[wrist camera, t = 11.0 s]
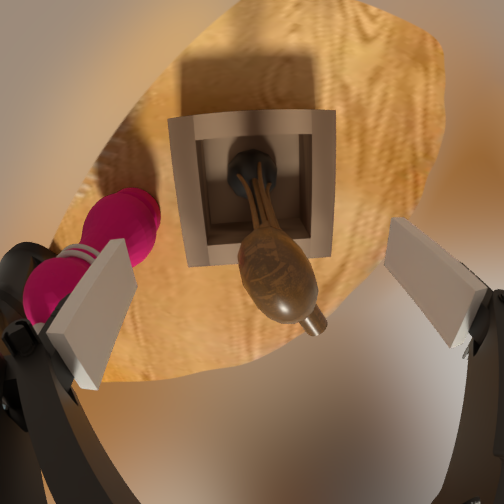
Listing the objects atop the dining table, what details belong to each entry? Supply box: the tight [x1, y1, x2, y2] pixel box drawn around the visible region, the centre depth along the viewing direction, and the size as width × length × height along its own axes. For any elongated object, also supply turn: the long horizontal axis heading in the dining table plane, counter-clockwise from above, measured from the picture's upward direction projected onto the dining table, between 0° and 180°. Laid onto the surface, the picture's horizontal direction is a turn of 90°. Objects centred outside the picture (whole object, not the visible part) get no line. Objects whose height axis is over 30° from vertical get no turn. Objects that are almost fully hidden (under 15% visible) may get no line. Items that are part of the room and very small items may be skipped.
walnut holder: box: [168, 109, 336, 267], centre depth 25 cm, size 13×13×6 cm
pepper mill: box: [23, 188, 161, 335], centre depth 20 cm, size 7×7×20 cm
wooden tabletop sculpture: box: [227, 149, 327, 336], centre depth 18 cm, size 6×5×20 cm
